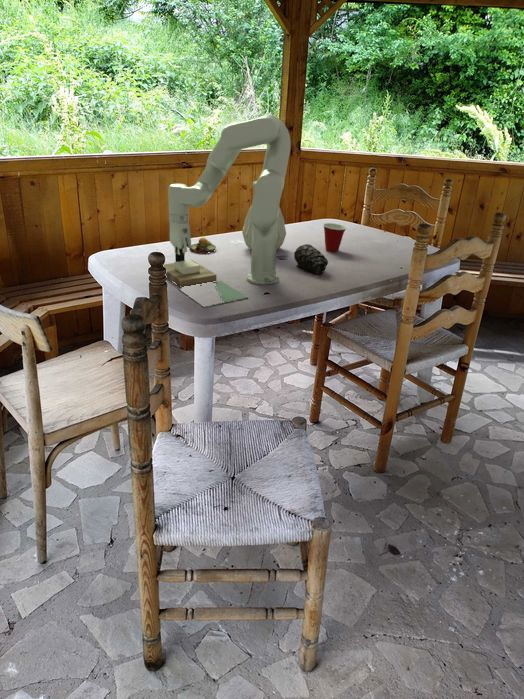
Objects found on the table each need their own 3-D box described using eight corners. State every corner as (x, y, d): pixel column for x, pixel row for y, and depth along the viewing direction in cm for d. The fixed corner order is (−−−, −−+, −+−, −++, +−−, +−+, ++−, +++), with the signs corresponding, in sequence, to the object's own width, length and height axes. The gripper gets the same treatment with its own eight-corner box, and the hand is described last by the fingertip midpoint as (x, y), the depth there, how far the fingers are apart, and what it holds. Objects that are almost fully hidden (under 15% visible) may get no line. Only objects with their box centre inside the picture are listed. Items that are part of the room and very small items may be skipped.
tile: (199, 271, 214) (199, 265, 213) (183, 274, 210) (183, 268, 209) (190, 265, 220) (190, 259, 219) (174, 268, 216) (173, 262, 215)
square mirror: (247, 298, 199) (247, 297, 199) (204, 307, 190) (204, 306, 190) (221, 282, 213) (221, 281, 213) (179, 290, 204) (179, 288, 204)
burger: (216, 247, 255) (216, 231, 252) (215, 254, 245) (215, 238, 241) (190, 246, 255) (190, 230, 251) (188, 254, 244) (188, 237, 241)
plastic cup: (348, 253, 254) (351, 227, 248) (327, 255, 250) (330, 229, 245) (337, 246, 263) (339, 221, 257) (316, 248, 259) (319, 222, 254)
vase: (232, 247, 254) (233, 180, 240) (265, 241, 266) (268, 176, 253) (261, 259, 241) (264, 188, 227) (294, 251, 253) (298, 184, 239)
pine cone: (318, 278, 222) (320, 254, 217) (288, 266, 234) (290, 243, 229) (336, 273, 228) (338, 250, 223) (306, 262, 240) (308, 239, 235)
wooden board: (216, 282, 213) (216, 274, 212) (181, 288, 205) (181, 281, 204) (192, 267, 228) (191, 260, 226) (158, 272, 220) (158, 265, 219)
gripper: (197, 221, 207) (197, 267, 215) (179, 212, 218) (180, 257, 226) (178, 223, 203) (179, 270, 211) (161, 214, 214) (163, 259, 222)
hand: (180, 263), depth 219 cm, fingers closed
